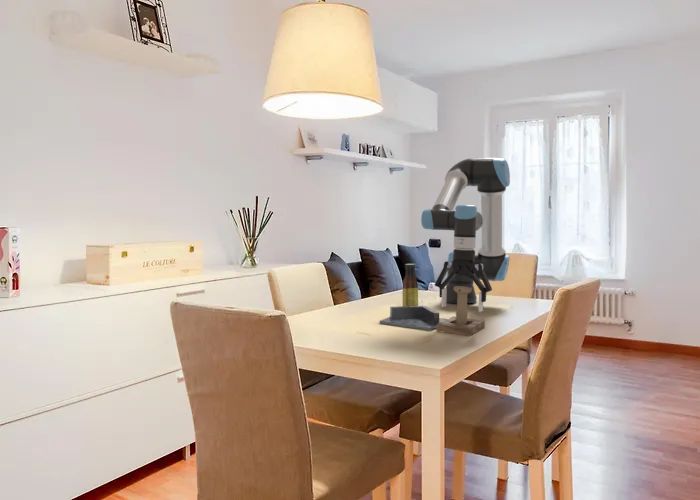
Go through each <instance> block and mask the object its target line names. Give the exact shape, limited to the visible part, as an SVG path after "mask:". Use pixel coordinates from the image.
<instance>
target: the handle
mask: <svg viewBox="0 0 700 500" xmlns="http://www.w3.org/2000/svg"><path fill="white" fill-rule="evenodd" d="M454 291H455V292H457V293H458V299H457V304H456V311H455V317H456V323H457V324H461V325H466V324H467V318H468V313H469V312H468V304H467V295H468V293H470V292H472V288H471V287H465V286H454Z"/></svg>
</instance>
